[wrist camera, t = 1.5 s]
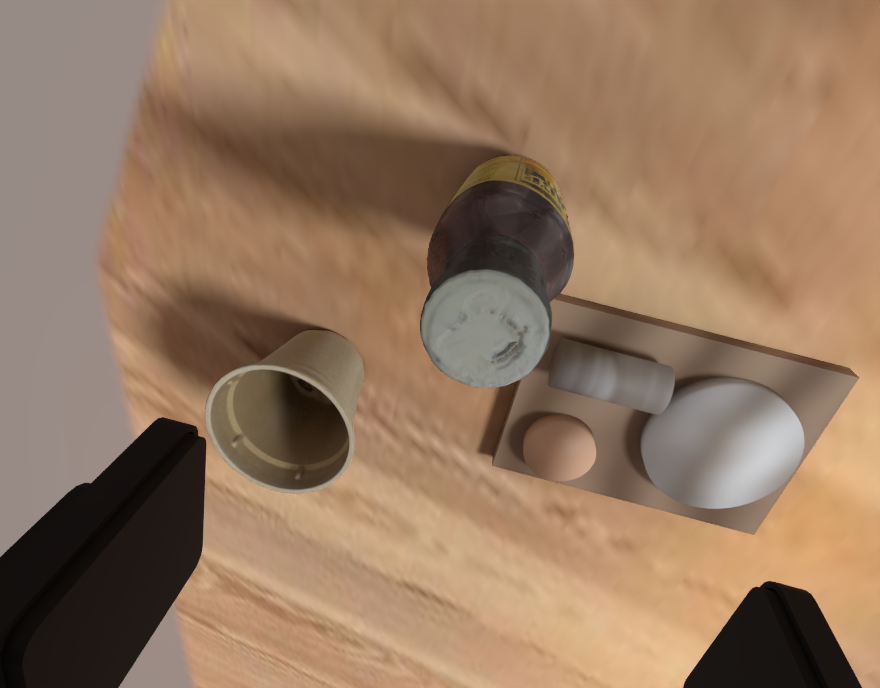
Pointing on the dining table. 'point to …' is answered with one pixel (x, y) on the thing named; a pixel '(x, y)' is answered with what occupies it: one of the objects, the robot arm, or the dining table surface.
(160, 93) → the dining table surface
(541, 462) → the board
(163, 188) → the dining table surface
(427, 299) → the sauce bottle
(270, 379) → the flower pot
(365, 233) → the dining table surface
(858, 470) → the dining table surface
